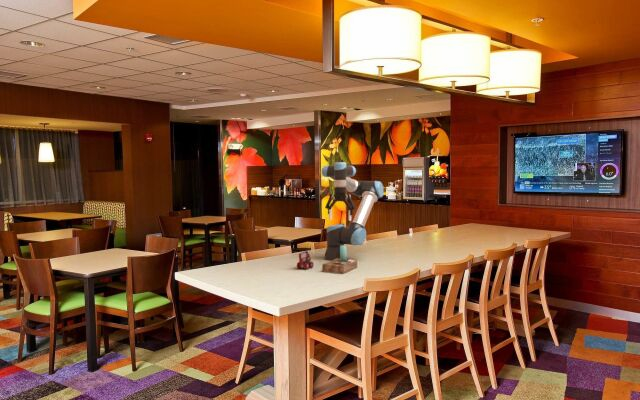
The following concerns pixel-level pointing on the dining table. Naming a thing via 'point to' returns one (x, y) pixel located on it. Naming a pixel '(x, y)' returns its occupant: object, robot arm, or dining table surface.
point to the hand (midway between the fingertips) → (340, 220)
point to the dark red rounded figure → (304, 261)
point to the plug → (343, 253)
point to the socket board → (339, 266)
